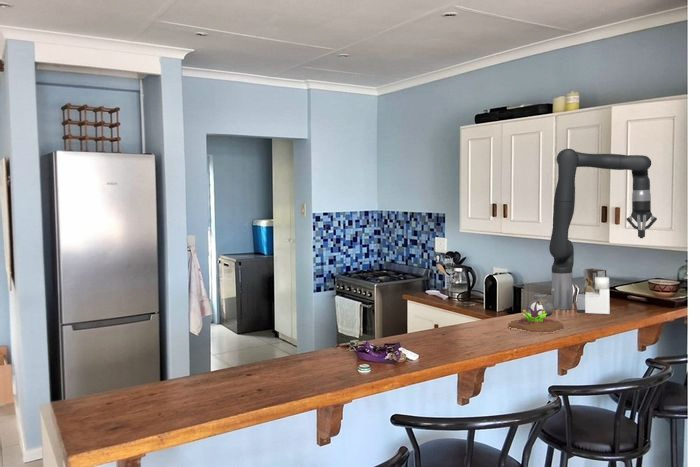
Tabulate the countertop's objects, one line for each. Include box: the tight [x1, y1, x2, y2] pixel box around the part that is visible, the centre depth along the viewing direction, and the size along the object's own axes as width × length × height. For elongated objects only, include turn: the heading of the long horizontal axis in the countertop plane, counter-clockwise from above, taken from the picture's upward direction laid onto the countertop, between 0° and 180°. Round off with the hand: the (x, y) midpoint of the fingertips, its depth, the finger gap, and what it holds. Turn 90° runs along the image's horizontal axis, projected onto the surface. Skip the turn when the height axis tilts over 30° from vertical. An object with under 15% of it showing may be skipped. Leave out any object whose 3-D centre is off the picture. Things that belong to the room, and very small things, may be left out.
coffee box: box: [583, 268, 607, 294], centre depth 285 cm, size 9×6×16 cm
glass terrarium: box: [527, 294, 555, 316], centre depth 257 cm, size 12×8×10 cm
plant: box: [507, 301, 564, 333], centre depth 236 cm, size 20×20×11 cm
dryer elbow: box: [584, 276, 611, 315], centre depth 260 cm, size 10×8×16 cm
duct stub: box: [576, 293, 586, 314], centre depth 262 cm, size 9×6×8 cm, turn 65°
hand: (641, 238), depth 260 cm, fingers closed
